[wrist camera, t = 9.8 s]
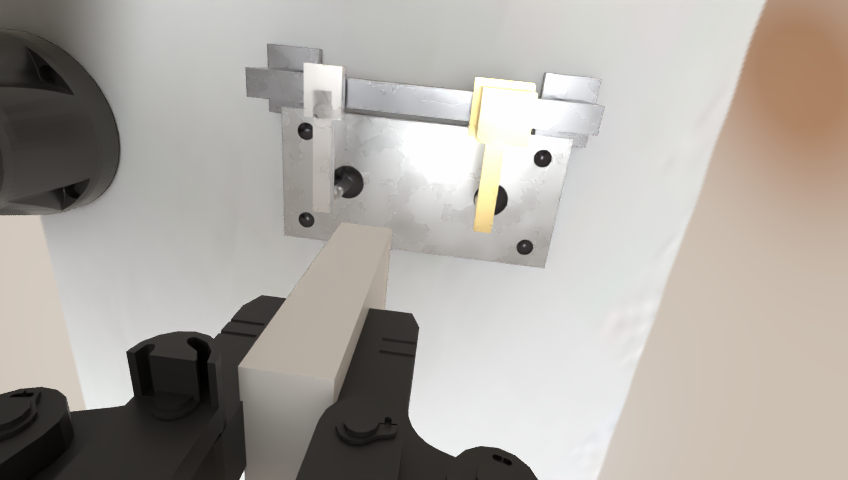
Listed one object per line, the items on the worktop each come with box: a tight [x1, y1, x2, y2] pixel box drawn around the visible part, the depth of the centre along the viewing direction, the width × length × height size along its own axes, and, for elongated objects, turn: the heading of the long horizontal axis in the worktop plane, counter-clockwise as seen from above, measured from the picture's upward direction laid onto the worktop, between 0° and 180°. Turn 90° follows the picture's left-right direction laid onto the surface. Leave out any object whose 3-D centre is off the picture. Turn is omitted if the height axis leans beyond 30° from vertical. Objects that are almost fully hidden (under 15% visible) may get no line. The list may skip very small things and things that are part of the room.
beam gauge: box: [245, 44, 605, 213], centre depth 31 cm, size 25×10×8 cm, turn 84°
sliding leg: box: [468, 77, 538, 233], centre depth 29 cm, size 4×10×10 cm, turn 174°
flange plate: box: [282, 107, 573, 268], centre depth 36 cm, size 23×11×1 cm, turn 84°
